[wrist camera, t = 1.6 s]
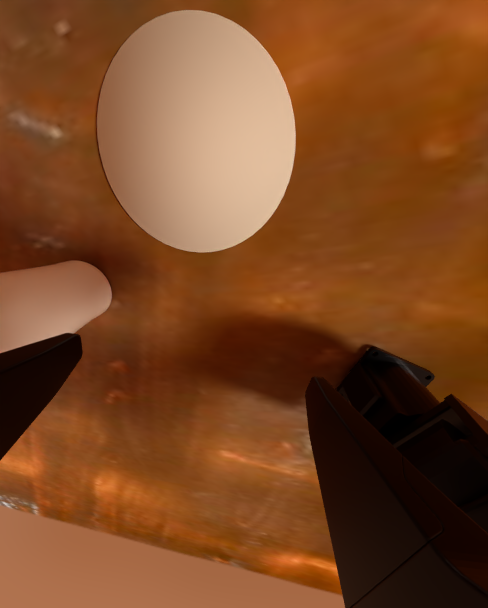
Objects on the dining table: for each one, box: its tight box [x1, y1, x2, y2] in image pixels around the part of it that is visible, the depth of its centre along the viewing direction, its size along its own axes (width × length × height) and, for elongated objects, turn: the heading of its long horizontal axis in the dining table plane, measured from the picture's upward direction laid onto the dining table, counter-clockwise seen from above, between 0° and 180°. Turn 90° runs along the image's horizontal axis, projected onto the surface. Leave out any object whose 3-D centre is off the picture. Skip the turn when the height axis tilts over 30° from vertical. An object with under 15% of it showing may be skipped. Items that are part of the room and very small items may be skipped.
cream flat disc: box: [97, 10, 296, 252], centre depth 16 cm, size 14×14×1 cm
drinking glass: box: [0, 260, 112, 353], centre depth 14 cm, size 7×7×15 cm
